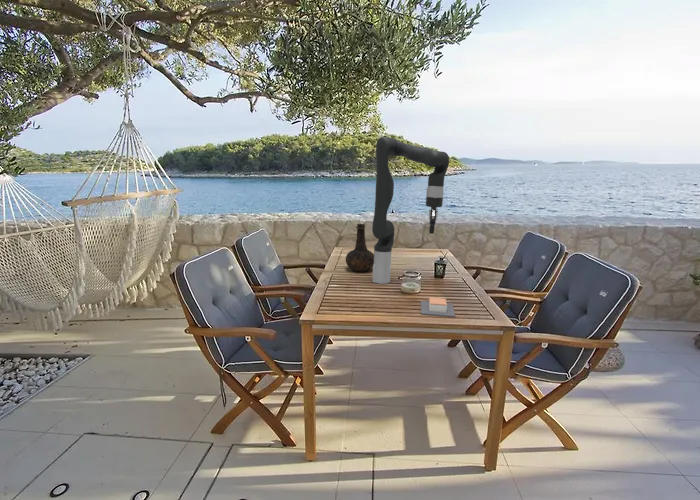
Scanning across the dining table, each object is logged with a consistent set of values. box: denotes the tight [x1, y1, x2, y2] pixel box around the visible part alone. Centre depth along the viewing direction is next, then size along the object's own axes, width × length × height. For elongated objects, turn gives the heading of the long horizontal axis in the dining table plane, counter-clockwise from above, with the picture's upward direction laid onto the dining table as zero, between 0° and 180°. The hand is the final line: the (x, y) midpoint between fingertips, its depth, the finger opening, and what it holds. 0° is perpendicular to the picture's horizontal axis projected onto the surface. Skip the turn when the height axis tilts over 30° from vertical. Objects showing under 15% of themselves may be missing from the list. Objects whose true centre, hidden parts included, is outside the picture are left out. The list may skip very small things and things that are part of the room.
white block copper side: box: [428, 297, 448, 312], centre depth 169 cm, size 7×4×8 cm
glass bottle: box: [345, 223, 374, 273], centre depth 231 cm, size 18×18×28 cm
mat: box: [420, 300, 456, 318], centre depth 170 cm, size 14×16×1 cm
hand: (431, 233), depth 182 cm, fingers closed
